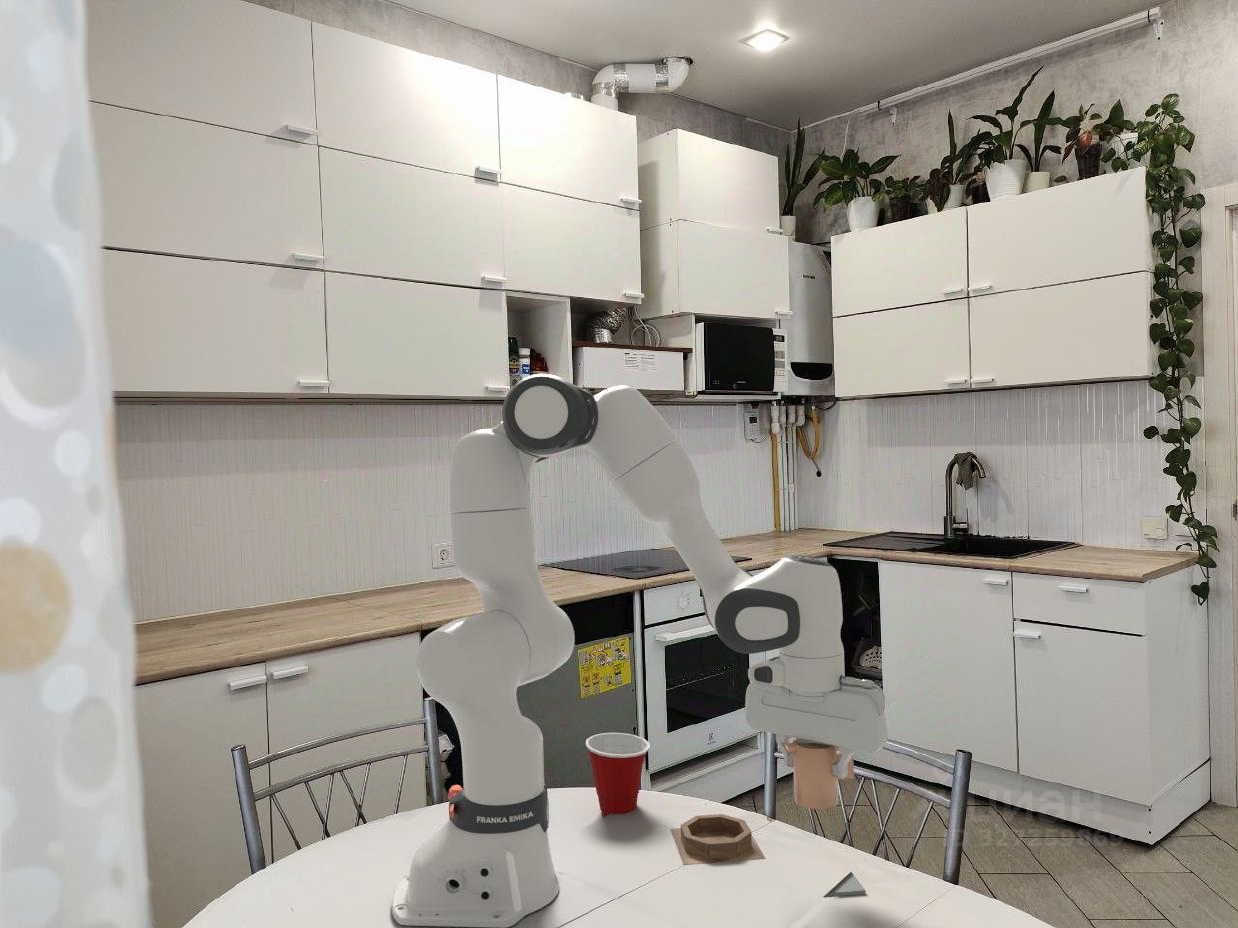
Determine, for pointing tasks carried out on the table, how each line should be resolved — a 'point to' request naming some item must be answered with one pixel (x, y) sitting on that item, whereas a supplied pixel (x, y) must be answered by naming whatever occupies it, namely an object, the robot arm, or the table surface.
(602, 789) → the plastic cup
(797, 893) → the table surface
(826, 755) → the jug
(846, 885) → the slate mat
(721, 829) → the holder
